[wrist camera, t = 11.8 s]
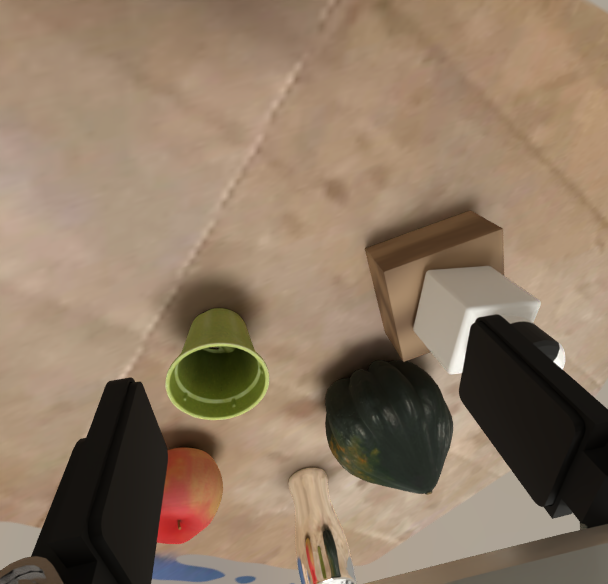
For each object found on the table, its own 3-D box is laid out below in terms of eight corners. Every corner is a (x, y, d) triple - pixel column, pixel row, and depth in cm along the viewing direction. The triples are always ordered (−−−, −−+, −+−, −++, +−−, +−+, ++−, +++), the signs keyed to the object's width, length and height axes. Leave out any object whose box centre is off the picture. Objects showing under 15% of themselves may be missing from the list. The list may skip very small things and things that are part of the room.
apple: (199, 484, 55) (195, 560, 47) (134, 468, 51) (117, 547, 43) (234, 441, 52) (237, 514, 44) (168, 420, 48) (156, 496, 40)
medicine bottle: (411, 330, 40) (482, 418, 30) (425, 268, 37) (511, 345, 27) (471, 323, 42) (558, 405, 32) (490, 264, 38) (594, 335, 28)
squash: (327, 364, 41) (359, 521, 37) (454, 342, 44) (498, 486, 39) (309, 378, 54) (330, 495, 50) (407, 361, 57) (436, 470, 53)
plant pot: (271, 303, 43) (282, 352, 35) (248, 368, 47) (253, 425, 39) (185, 285, 40) (176, 334, 32) (168, 356, 44) (157, 415, 36)
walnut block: (363, 247, 42) (383, 271, 36) (468, 209, 42) (503, 228, 37) (384, 330, 48) (403, 362, 43) (474, 297, 48) (505, 324, 43)
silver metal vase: (297, 461, 57) (319, 575, 44) (337, 468, 59) (369, 578, 46) (277, 491, 59) (292, 607, 46) (316, 496, 62) (341, 608, 49)
